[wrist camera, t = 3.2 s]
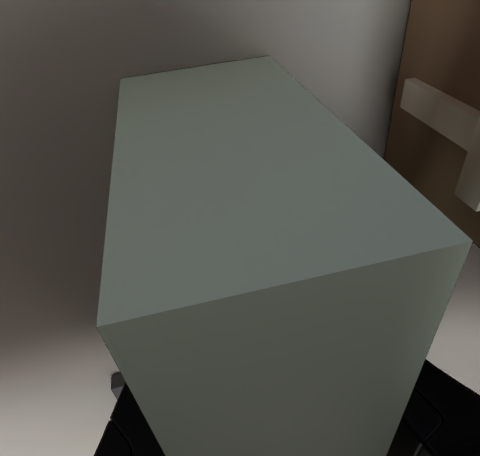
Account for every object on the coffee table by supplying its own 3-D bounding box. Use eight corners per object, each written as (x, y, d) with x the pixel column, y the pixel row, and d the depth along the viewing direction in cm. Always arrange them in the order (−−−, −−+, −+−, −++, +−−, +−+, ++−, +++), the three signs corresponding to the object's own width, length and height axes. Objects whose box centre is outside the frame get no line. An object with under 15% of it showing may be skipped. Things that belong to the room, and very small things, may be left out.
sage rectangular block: (278, 325, 13) (354, 532, 9) (195, 345, 13) (228, 572, 8) (269, 55, 8) (471, 241, 3) (120, 78, 7) (95, 326, 3)
